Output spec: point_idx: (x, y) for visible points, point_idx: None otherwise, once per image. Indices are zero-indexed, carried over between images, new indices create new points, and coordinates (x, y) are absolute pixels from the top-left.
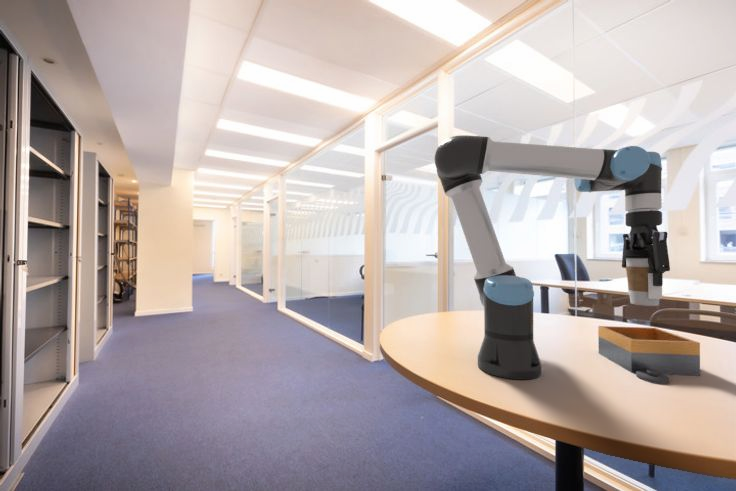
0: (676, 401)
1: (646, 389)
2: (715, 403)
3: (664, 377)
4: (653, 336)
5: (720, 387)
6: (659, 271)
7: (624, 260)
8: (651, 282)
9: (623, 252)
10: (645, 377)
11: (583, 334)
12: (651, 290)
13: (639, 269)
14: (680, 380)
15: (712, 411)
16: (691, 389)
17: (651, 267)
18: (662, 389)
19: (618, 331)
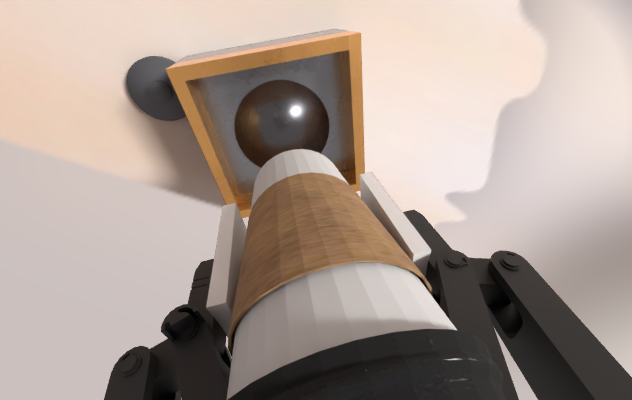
0: (13, 76)
1: (57, 39)
2: (69, 145)
3: (157, 110)
4: (349, 172)
5: (182, 186)
6: (150, 349)
7: (527, 305)
8: (215, 264)
9: (624, 383)
10: (131, 66)
11: (511, 55)
12: (220, 233)
13: (242, 295)
14: (186, 140)
15: (6, 122)
16: (134, 138)
17: (192, 354)
18: (89, 79)
19: (347, 95)
